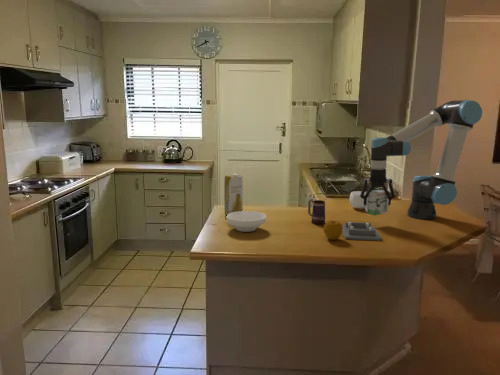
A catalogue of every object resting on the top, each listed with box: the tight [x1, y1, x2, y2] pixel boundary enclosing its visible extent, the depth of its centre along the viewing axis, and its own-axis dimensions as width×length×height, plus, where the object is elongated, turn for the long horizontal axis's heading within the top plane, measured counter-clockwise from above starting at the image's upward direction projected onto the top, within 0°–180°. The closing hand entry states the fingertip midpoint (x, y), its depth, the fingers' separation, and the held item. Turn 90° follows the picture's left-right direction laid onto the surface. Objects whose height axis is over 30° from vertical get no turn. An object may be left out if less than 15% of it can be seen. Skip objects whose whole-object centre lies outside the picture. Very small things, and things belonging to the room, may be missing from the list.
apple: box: [323, 220, 343, 241], centre depth 183 cm, size 9×8×9 cm
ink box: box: [366, 189, 388, 216], centre depth 206 cm, size 9×5×12 cm, turn 119°
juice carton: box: [223, 173, 244, 216], centre depth 221 cm, size 9×8×24 cm
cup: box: [349, 190, 368, 211], centre depth 241 cm, size 12×12×10 cm
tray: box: [342, 221, 382, 242], centre depth 193 cm, size 16×20×4 cm
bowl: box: [225, 210, 267, 233], centre depth 197 cm, size 20×20×7 cm
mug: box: [307, 198, 326, 225], centre depth 211 cm, size 10×7×12 cm
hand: (376, 211), depth 207 cm, fingers closed on ink box, 9 cm apart
